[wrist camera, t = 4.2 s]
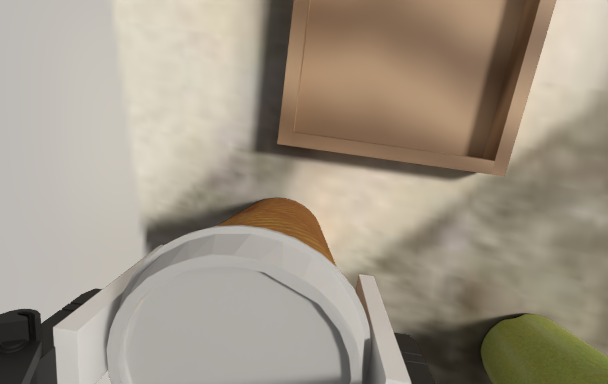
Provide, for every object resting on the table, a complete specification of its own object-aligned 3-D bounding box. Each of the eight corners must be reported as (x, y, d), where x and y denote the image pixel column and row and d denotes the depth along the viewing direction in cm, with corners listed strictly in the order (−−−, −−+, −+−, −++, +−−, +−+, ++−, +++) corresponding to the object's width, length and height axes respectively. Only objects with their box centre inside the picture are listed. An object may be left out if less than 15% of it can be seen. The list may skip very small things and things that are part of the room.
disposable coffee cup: (205, 286, 23) (88, 456, 11) (222, 161, 21) (98, 211, 9) (330, 311, 23) (342, 507, 11) (359, 189, 21) (412, 275, 9)
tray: (485, 170, 20) (504, 176, 18) (281, 141, 20) (277, 143, 18) (551, -69, 17) (584, -96, 15) (310, -99, 17) (308, -130, 15)
